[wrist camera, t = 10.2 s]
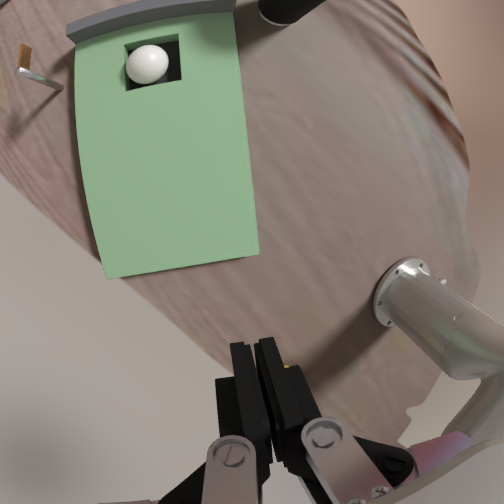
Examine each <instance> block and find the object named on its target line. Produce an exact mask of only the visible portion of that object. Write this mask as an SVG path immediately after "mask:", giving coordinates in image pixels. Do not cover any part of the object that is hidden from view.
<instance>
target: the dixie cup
mask: <svg viewBox="0 0 504 504" xmlns="http://www.w3.org/2000/svg"><path fill="white" fill-rule="evenodd" d="M324 1H326V0H259V2H258V8H259V13H260V15H261V17H262V18H263V19H264V20H265V21H267V22H268V23H270V24H273V25H277V26H286V25H289V24H292V23H295V22H296V21H298V20H299V19H300V18H302V17H303V16H304V15H306V14H307V13H309V12H310V11H311V10H313V9H314V8H315V7H317V6H318V5H320V4H321V3H323V2H324Z"/></svg>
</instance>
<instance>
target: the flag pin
mask: <svg viewBox="0 0 504 504" xmlns="http://www.w3.org/2000/svg"><path fill="white" fill-rule="evenodd" d="M31 50H32V49H31V48H30V47H28V46H26V45H24V44H21V45H20V52H19V60H18V67H17V69H16V71H15V74H17V75H20V76H23V77H25V78H28V79H31V80H33V81H36V82H39V83H41V84H44V85H46V86H49V87H51V88H54V89H56V90H59V91H62V90H63V89H64V85H62V84H60V83H57V82H55V81H53V80H51V79H49V78H46V77H44V76H42V75H40V74H37V73H35V72H33V71H30V59H31Z"/></svg>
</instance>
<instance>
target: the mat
mask: <svg viewBox="0 0 504 504" xmlns="http://www.w3.org/2000/svg"><path fill="white" fill-rule="evenodd" d="M235 3H236V0H141V1H137V2H133V3H129V4H125V5H122V6H118V7H115V8H111V9H108V10H105V11H102V12H99V13H96V14H93V15H90V16H87V17H85V18H82V19H79V20H77V21H74V22H72V23H69V24H67V29H66V36H67V37H68V38H69V39H71V40H72V41H73V42H74V43H75V44H76V47H75V113H76V128H77V139H78V148H79V156H80V164H81V170H82V177H83V183H84V189H85V194H86V199H87V204H88V209H89V214H90V218H91V223H92V227H93V231H94V235H95V239H96V243H97V247H98V251H99V254H100V258H101V261H102V265H103V268H104V271H105V275H106V278H107V279H112V278H119V277H125V276H131V275H137V274H143V273H149V272H155V271H161V270H167V269H173V268H179V267H185V266H191V265H197V264H203V263H209V262H215V261H221V260H227V259H233V258H239V257H245V256H251V255H257V254H260V253H259V243H258V233H257V224H256V214H255V204H254V195H253V185H252V176H251V167H250V157H249V148H248V139H247V130H246V121H245V112H244V103H243V94H242V85H241V77H240V68H239V59H238V51H237V42H236V34H235V26H234V17H233V10H234V7H235ZM145 45H155V46H158V47H160V48H162V49H163V50H164V51H165V52H166V54H167V56H168V61H169V63H168V68H167V70H166V72H165V74H164V75H163V76H162V77H161V78H160V79H158V80H157V81H155V82H153V83H149V84H140V83H136V82H134V81H133V80H132V79H131V78H130V77H129V76H128V74H127V71H126V63H127V60H128V58H129V56H130V55H131V53H132V52H133V51H135V50H136V49H137V48H139V47H141V46H145Z"/></svg>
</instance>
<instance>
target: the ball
mask: <svg viewBox="0 0 504 504" xmlns="http://www.w3.org/2000/svg"><path fill="white" fill-rule="evenodd" d="M168 63H169V61H168V56H167V54H166V52H165V51H164V50H163V49H162V48H160V47H158V46H155V45H145V46H141V47H139V48H137V49H136V50H135V51H133V52H132V53H131V55H130V56H129V58H128V60H127V63H126V71H127V74H128V76H129V77H130V78H131V79H132V80H133V81H134V82H136V83H140V84H149V83H153V82H155V81H157V80H158V79H160V78H161V77H162V76H163V75H164V74H165V72H166V70H167V68H168Z"/></svg>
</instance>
